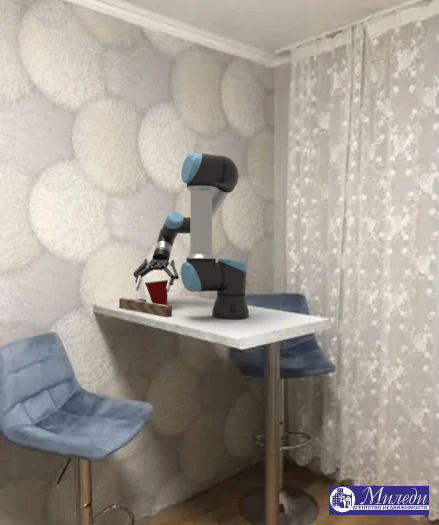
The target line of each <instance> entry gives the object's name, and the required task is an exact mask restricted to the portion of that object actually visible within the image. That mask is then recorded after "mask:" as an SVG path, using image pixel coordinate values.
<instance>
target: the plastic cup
mask: <svg viewBox="0 0 439 525" xmlns="http://www.w3.org/2000/svg"><path fill="white" fill-rule="evenodd" d="M167 283H168V279H164V280H153V281H146V282H144V284H145V286H146V290H147V291H148V292H147V293H148V295H149V297H150V301H151V303H156V304H162V305H168V292H167V290H166V287H167Z"/></svg>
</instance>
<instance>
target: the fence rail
mask: <svg viewBox="0 0 439 525" xmlns="http://www.w3.org/2000/svg"><path fill="white" fill-rule="evenodd" d="M118 302H119V304H118V306H119V308H120V309H125V310H130V311H134V312H139V313H143V314H144V313H145V314H149V315H153V316H158V317H165V318H169V317H172V316H173V306H172V305H168V304H167V305H162V304H156V303H152V301H151V302H150V301H147V299H144V298H138V299H137V298H136V299H133V298H127V297H121V298H119V300H118Z"/></svg>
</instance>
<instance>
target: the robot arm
mask: <svg viewBox="0 0 439 525" xmlns="http://www.w3.org/2000/svg"><path fill="white" fill-rule="evenodd" d="M180 176H181V181H182V182H183V183H185V184H186V189H187V190H188V192H190V210H189V212H190V216H189V217H188V216H187V217H186V216H183V215H182V214H181V213H179V212H177V211H171V212H170V213H169V214H168V215H167V216H166V218H165V220H164V223H163V225H162V227H161V228H160V230H159V233H158V238H157V242H156V245H155V248H154V251H153V255H152V258H151V259H150V260H148V258H146V259H144V261H143V262H142V263H141V264H140V266H138V268H136V269H135V270H134V271H133V276H134V278H135V291H137V292H139V290H140V287H141V284H142V281H143V277H145V276H146V275H148V273H151V272H153V271H162V270H163V271H164V272H165V273H166V274H167V275H168V279H167V280H168V283H167V287H166V290H167V293H169V292H170V289H171V286H173V285H174V283H175V280H180V278H181V281H182V285H183V286H184V288H185V289H186V290H187V291H188V292H192V293H200V292H203V293H204V292H216V298H215V302H214V304H213V308H212V310H211V311H212V312H211V316H212V317H215V318H219V319H227V320H241V319H240V318H243V319H247V318H249V317H250V311H249V307H248V306H249V305H248V302H247V300H246V288H247V266H246V265H247V264H246V263H245V262H243V261H239V260H233V259H225V258H218V259H217V258H216V256H214V255H213V217H214V216H215V214H216V213H217V212H218V210H219V208H220V207H221V205H222V204H223V202H224V200H225V199H226V197H227V196H228V195H229V194H230V193H232V192H233V191H234V190H235V188H236V186H237V184H238V181H239V170H238V166H237V164H236V163H235V162H234V160H233V159H231V158H230V157H228V156H225V155H217V154H208V153H201V152H199V153H196V152H195V153H194V152H193V153H189V154H188V155H187V156H186V157H185V159H184V161H183V163H182V166H181V173H180ZM178 234H189V238H190V240H189V243H190V244H189V246H190V248H189V250H190V251H189V254H188V255H187V256H186V257H185V258H186V259H185V261H184V262H183V263H182V264H181V268H180V278H179V274H178V271H177V269H176V263H175V260H174V259H172V260H171V261H170V259H171V253H172V249H173V245H174V243H175V239H176V237H177V235H178ZM216 259H217V260H216ZM168 266H170V267H171V268H172V269H171V270H172V272H173V273H172V272H171V270H170V269H169V268H168Z"/></svg>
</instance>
